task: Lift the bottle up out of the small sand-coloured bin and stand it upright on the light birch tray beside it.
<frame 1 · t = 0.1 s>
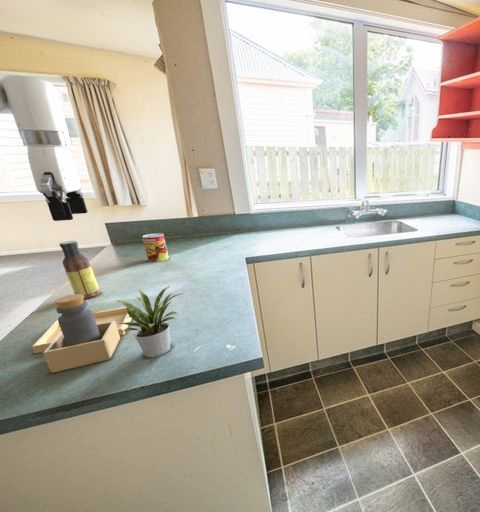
hand: (71, 216, 71), 33 cm above the worktop, tool pointing down, fingers open, 9 cm apart
house plant: (164, 348, 76), on the worktop
canned food: (158, 259, 142), on the worktop
bottle: (88, 353, 73), resting on bin
sauce bottle: (88, 296, 104), on the worktop
bin: (88, 353, 73), on the worktop
tray: (91, 329, 84), on the worktop
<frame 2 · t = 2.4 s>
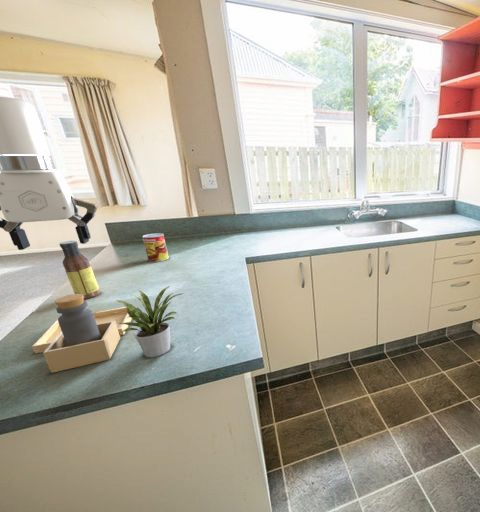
hand: (55, 245, 66), 28 cm above the worktop, tool pointing down, fingers open, 9 cm apart
nothing on the worktop moved.
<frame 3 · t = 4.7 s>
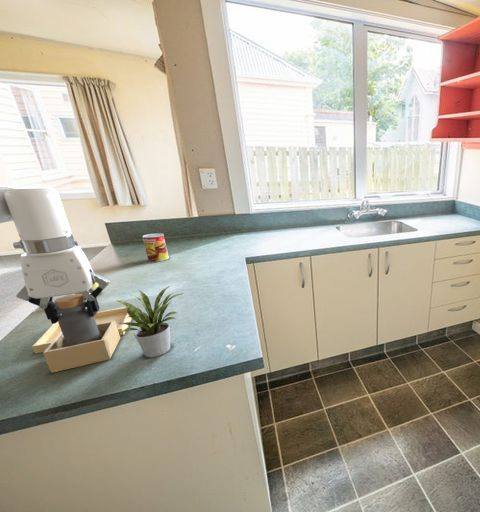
hand: (75, 316, 70), 10 cm above the worktop, tool pointing down, fingers closed on bottle, 5 cm apart
bottle: (88, 353, 73), resting on bin, touching gripper
everything else where it was.
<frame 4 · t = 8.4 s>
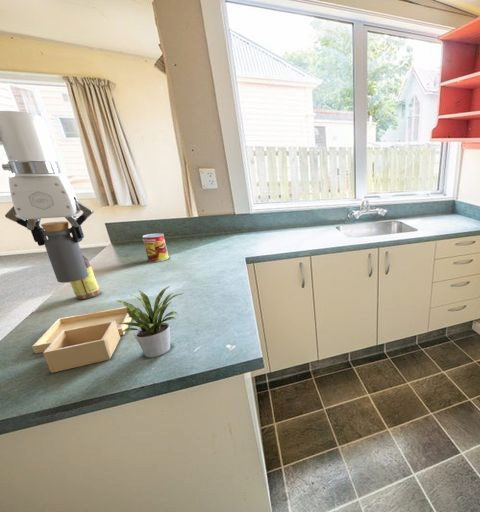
hand: (61, 242, 75), 26 cm above the worktop, tool pointing down, fingers closed on bottle, 5 cm apart
bottle: (73, 279, 78), point 16 cm above the worktop, touching gripper
everything else where it was.
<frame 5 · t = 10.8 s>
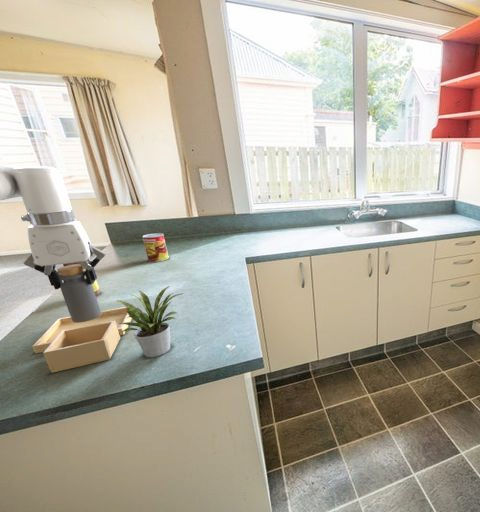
hand: (75, 284, 79), 14 cm above the worktop, tool pointing down, fingers closed on bottle, 5 cm apart
bottle: (87, 318, 82), point 4 cm above the worktop, touching gripper
everything else where it was.
when the fingers open (11 cm above the worktop, at t = 12.2 s): bottle stays where it is, resting on tray.
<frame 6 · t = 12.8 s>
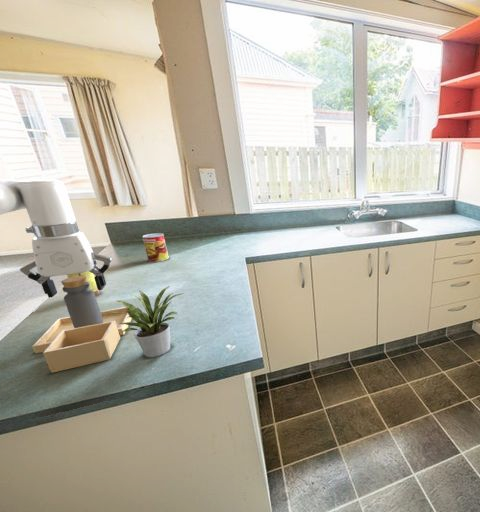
hand: (78, 291, 80), 12 cm above the worktop, tool pointing down, fingers open, 9 cm apart
bottle: (90, 328, 83), resting on tray
everything else where it was.
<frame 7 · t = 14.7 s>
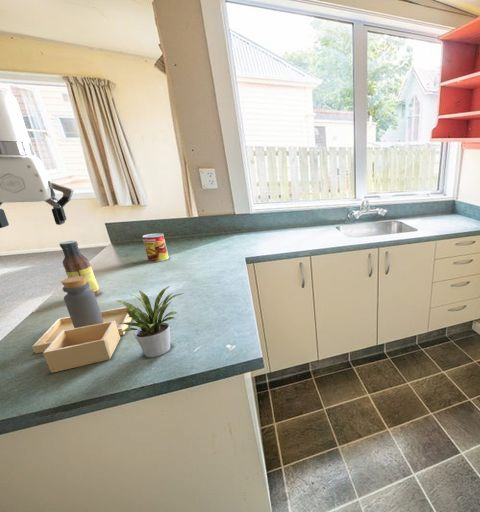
hand: (33, 225, 71), 31 cm above the worktop, tool pointing down, fingers open, 9 cm apart
nothing on the worktop moved.
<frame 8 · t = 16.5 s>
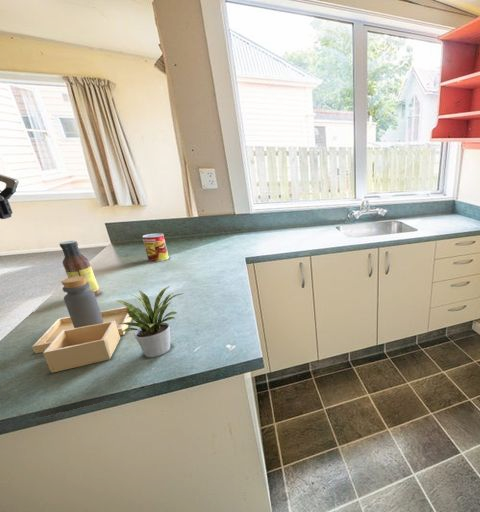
nothing on the worktop moved.
at the end: bottle inside the target area in the tray (0.1 cm from its centre), point 0.4 cm above the tray's base; bottle tilted 0°; the gripper is holding nothing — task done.
